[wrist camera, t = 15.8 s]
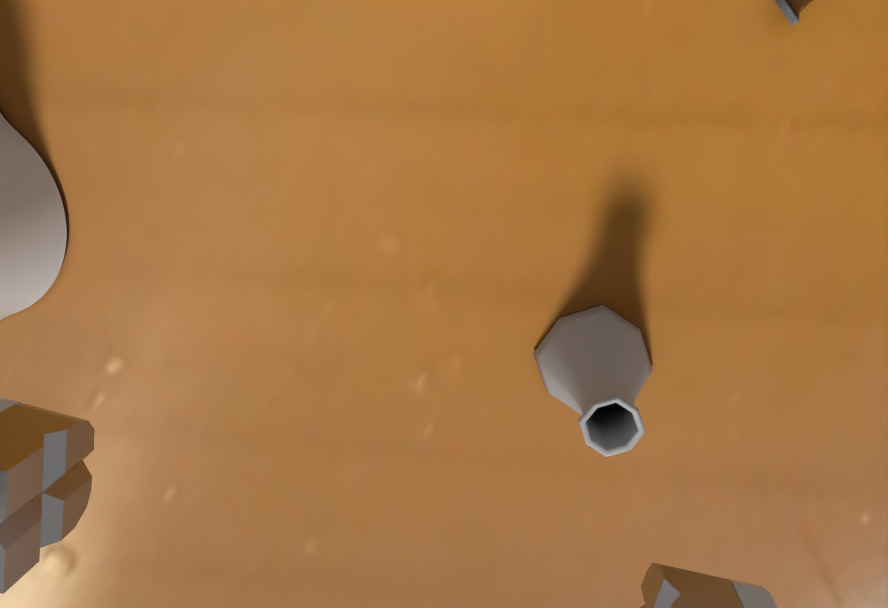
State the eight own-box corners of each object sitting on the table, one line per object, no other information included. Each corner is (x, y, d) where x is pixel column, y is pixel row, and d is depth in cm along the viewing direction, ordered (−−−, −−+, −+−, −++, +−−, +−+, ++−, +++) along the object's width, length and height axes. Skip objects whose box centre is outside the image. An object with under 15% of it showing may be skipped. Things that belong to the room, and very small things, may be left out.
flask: (605, 283, 43) (630, 333, 33) (671, 370, 44) (714, 442, 34) (513, 348, 45) (512, 413, 35) (579, 430, 46) (595, 514, 36)
